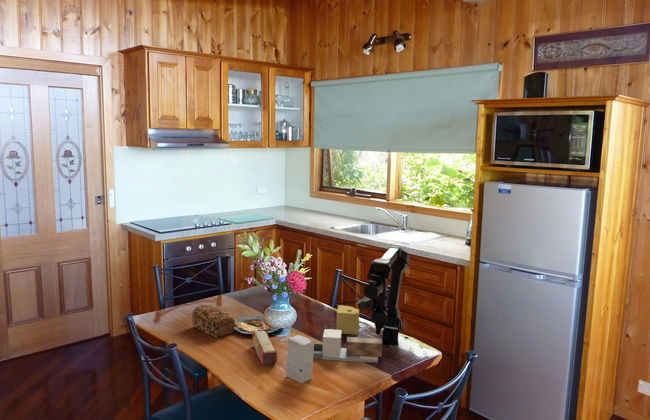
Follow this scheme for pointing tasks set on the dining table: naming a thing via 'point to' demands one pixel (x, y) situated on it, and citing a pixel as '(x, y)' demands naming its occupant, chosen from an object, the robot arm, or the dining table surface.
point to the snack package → (264, 348)
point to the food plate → (251, 319)
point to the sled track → (336, 349)
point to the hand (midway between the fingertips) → (377, 330)
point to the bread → (212, 320)
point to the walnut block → (364, 346)
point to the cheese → (347, 319)
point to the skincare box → (300, 358)
